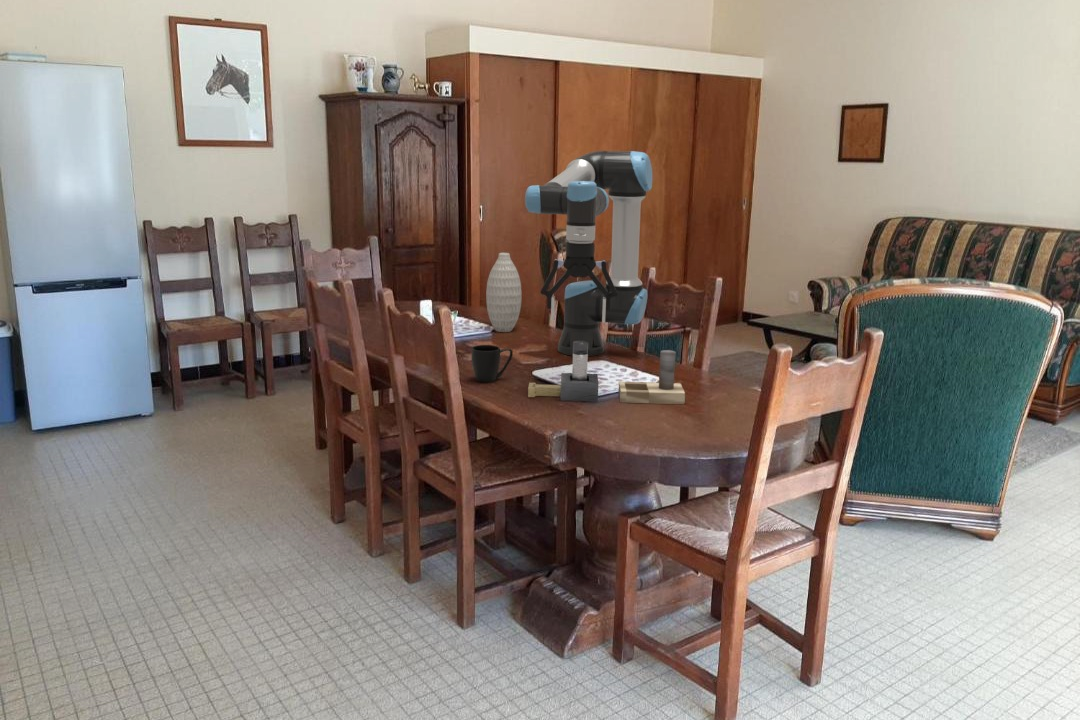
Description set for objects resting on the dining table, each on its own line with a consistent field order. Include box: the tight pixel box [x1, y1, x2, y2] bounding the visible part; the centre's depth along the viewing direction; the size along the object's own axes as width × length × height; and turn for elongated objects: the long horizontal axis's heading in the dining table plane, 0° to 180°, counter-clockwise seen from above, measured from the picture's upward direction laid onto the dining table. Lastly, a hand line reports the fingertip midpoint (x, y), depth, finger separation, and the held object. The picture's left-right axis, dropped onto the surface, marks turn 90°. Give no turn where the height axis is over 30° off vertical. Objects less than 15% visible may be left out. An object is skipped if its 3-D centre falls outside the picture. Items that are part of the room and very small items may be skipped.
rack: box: [618, 349, 686, 405], centre depth 232 cm, size 10×17×13 cm, turn 88°
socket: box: [559, 372, 600, 403], centre depth 233 cm, size 10×10×5 cm
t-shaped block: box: [527, 382, 561, 398], centre depth 234 cm, size 6×11×2 cm, turn 88°
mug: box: [471, 344, 514, 384], centre depth 247 cm, size 8×12×10 cm
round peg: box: [571, 341, 589, 381], centre depth 232 cm, size 4×4×15 cm
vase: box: [485, 252, 522, 333], centre depth 310 cm, size 13×13×28 cm
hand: (578, 321), depth 229 cm, fingers open, 13 cm apart
